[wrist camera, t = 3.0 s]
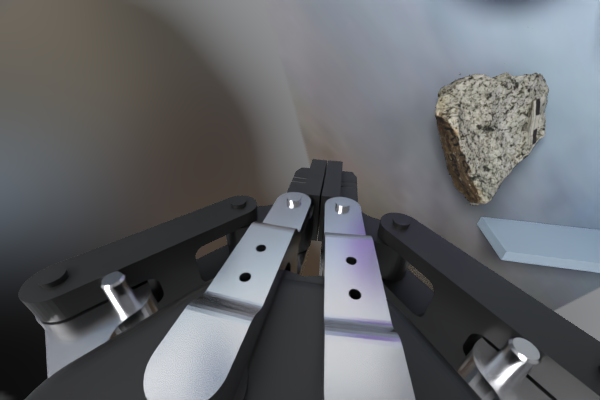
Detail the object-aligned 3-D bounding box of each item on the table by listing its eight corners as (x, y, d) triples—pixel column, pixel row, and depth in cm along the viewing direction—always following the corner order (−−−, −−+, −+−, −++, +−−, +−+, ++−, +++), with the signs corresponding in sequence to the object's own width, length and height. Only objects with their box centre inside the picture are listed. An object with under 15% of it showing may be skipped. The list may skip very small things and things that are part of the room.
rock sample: (626, 154, 17) (561, 207, 14) (504, 181, 24) (445, 220, 21) (555, 18, 17) (477, 41, 14) (456, 85, 24) (390, 110, 21)
